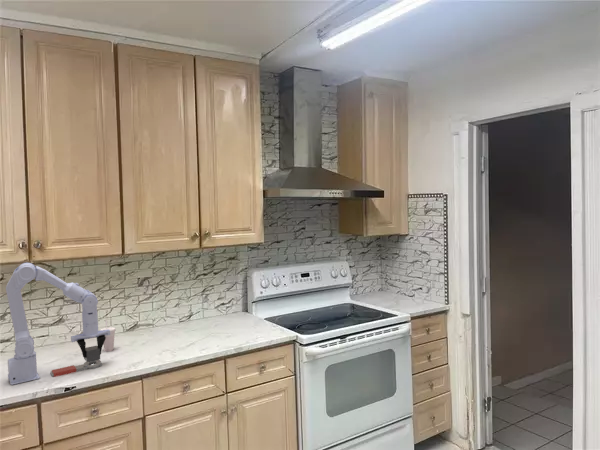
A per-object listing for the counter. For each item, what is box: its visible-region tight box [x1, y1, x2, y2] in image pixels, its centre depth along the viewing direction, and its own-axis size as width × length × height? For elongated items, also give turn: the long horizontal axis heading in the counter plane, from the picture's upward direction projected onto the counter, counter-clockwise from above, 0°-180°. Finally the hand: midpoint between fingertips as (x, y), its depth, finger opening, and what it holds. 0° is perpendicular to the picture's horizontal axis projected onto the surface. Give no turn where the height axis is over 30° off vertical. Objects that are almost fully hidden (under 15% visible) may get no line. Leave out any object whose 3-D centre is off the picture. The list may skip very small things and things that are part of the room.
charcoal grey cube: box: [83, 345, 101, 362], centre depth 188 cm, size 5×5×4 cm
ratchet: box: [50, 359, 103, 378], centre depth 185 cm, size 18×6×4 cm, turn 127°
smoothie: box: [100, 319, 116, 353], centre depth 208 cm, size 6×6×14 cm
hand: (92, 355), depth 188 cm, fingers closed on charcoal grey cube, 5 cm apart
